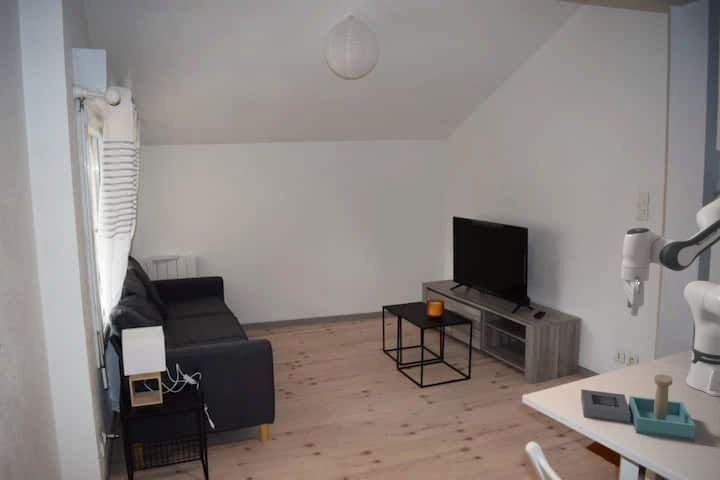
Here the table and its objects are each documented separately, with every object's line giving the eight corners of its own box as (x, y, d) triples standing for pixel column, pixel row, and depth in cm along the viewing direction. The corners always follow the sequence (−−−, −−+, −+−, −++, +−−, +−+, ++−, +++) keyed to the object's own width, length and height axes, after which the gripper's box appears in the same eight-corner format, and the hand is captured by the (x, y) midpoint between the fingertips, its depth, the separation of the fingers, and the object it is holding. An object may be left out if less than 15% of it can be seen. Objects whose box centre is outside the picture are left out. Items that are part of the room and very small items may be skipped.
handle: (670, 420, 175) (674, 377, 172) (664, 427, 170) (668, 383, 168) (654, 415, 178) (658, 373, 176) (648, 422, 174) (651, 379, 171)
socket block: (623, 403, 188) (624, 394, 188) (629, 423, 175) (630, 413, 175) (580, 398, 193) (581, 389, 192) (583, 416, 180) (584, 407, 179)
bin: (681, 416, 179) (682, 402, 178) (693, 441, 164) (695, 426, 163) (628, 409, 184) (629, 396, 183) (636, 432, 169) (637, 418, 168)
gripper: (650, 281, 179) (647, 321, 181) (639, 268, 198) (637, 304, 200) (629, 280, 181) (626, 319, 183) (621, 267, 200) (618, 302, 202)
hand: (632, 311), depth 192 cm, fingers open, 8 cm apart
